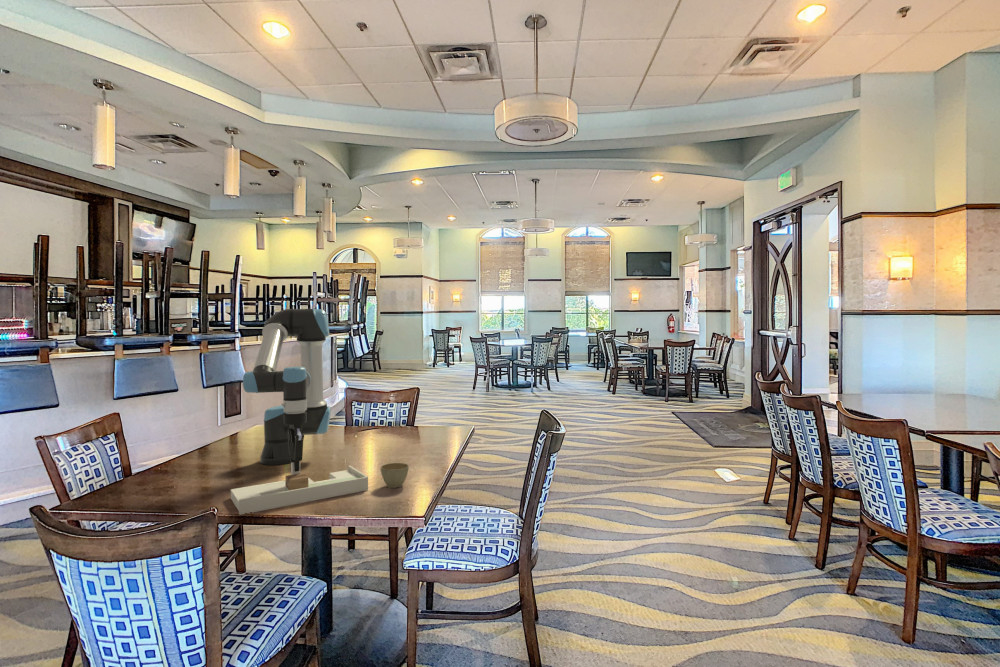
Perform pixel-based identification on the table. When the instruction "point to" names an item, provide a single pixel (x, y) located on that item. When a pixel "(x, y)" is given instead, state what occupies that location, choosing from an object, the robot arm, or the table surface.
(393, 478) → the flower pot
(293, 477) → the block
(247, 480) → the table surface
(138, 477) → the table surface
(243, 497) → the tray
